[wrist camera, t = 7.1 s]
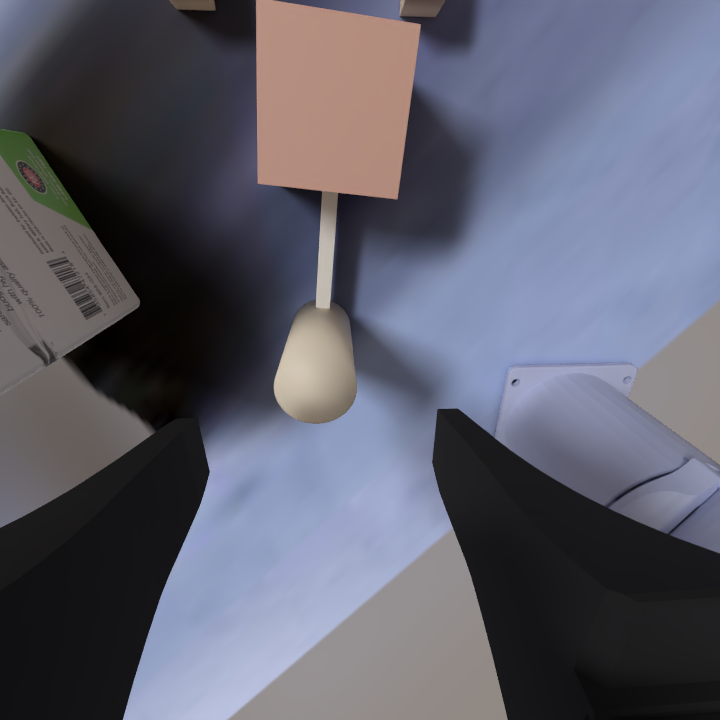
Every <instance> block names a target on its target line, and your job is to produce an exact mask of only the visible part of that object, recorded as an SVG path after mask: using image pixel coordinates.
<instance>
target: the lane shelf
mask: <svg viewBox="0 0 720 720" xmlns="http://www.w3.org/2000/svg"><path fill="white" fill-rule="evenodd" d="M169 1H170V2H171V3H172V4H173V5H174V7H175V8H176V9H179V10H212V11H216V9H215V1H214V0H169ZM445 1H446V0H400V16H412V17H436V16H437V14H438V13H439V11H440V9H441V7H442V6H443V4H444V2H445Z"/></svg>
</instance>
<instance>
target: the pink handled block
mask: <svg viewBox="0 0 720 720" xmlns="http://www.w3.org/2000/svg"><path fill="white" fill-rule="evenodd" d="M420 27H421V24H416V23H410V22H404V21H397V20H391V19H385V18H379V17H372V16H366V15H360V14H354V13H348V12H341V11H335V10H329V9H323V8H316V7H310V6H304V5H298V4H291V3H285V2H279V1H273V0H256V43H257V144H258V184H265V185H274V186H283V187H292V188H301V189H310V190H319V191H322V205H321V222H320V240H319V258H318V276H317V294H316V300H314V301H311V302H308V303H306V304H305V305H303V306H302V307H301V308H300V309H299V310H298V311H297V313H296V315H295V317H294V320H293V323H292V327H291V330H290V333H289V336H288V339H287V342H286V345H285V349H284V352H283V355H282V358H281V361H280V364H279V367H278V371H277V374H276V377H275V381H274V393H275V397H276V399H277V402H278V403H279V405H280V406H281V408H282V409H283V410H284V411H285V412H286V413H287V414H288V415H290V416H291V417H293V418H295V419H297V420H299V421H302V422H306V423H313V424H319V423H326V422H330V421H333V420H335V419H337V418H339V417H341V416H342V415H343V414H345V413H346V412H347V411H348V410H349V409H350V407H351V406H352V404H353V402H354V400H355V397H356V393H357V384H356V374H355V365H354V355H353V346H352V336H351V327H350V320H349V318H348V315H347V314H346V312H345V311H344V309H343V308H342V307H340V306H339V305H338V304H336V303H334V302H332V301H330V297H331V284H332V270H333V256H334V242H335V228H336V214H337V200H338V193H345V194H354V195H363V196H372V197H381V198H389V199H398V192H399V184H400V177H401V169H402V162H403V154H404V147H405V139H406V132H407V124H408V117H409V109H410V102H411V95H412V87H413V80H414V72H415V65H416V57H417V50H418V42H419V35H420Z"/></svg>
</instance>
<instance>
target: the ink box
mask: <svg viewBox="0 0 720 720" xmlns="http://www.w3.org/2000/svg"><path fill="white" fill-rule="evenodd" d="M139 305H140V300H139V298H138V297H137V296H136V294H135V293H134V291H133V290H132V288H131V286H130V285H129V283H128V282H127V280H126V279H125V277H124V276H123V274H122V273H121V271H120V270H119V269H118V267H117V266H116V264H115V263H114V261H113V260H112V258H111V257H110V255H109V254H108V252H107V251H106V249H105V248H104V247H103V245H102V244H101V242H100V241H99V239H98V238H97V236H96V234H95V233H94V231H93V230H92V228H91V227H90V225H89V224H88V222H87V221H86V219H85V218H84V216H83V215H82V213H81V212H80V211H79V209H78V208H77V206H76V204H75V203H74V201H73V200H72V199H71V197H70V196H69V194H68V193H67V191H66V190H65V188H64V187H63V185H62V184H61V182H60V181H59V179H58V178H57V176H56V175H55V173H54V171H53V170H52V169H51V167H50V166H49V164H48V163H47V161H46V160H45V158H44V157H43V155H42V154H41V152H40V151H39V149H38V148H37V146H36V145H35V144H34V142H33V140H32V139H31V138H30V137H29V136H28V135H27V134H24V133H21V132H15V131H9V130H4V129H0V395H2V394H3V393H5V392H6V391H8V390H10V389H11V388H13V387H15V386H16V385H18V384H19V383H21V382H23V381H24V380H26V379H27V378H29V377H30V376H32V375H33V374H35V373H37V372H38V371H40V370H42V369H43V368H45V367H47V366H48V365H50V364H51V363H53V362H55V361H56V360H58V359H59V358H61V357H62V356H64V355H65V354H67V353H69V352H70V351H72V350H73V349H75V348H77V347H78V346H80V345H81V344H83V343H84V342H86V341H87V340H89V339H91V338H92V337H94V336H95V335H97V334H98V333H100V332H101V331H103V330H104V329H106V328H107V327H109V326H111V325H112V324H114V323H115V322H117V321H119V320H120V319H122V318H123V317H125V316H126V315H127V314H129V313H131V312H132V311H134V310H135V309H137V308H138V307H139Z"/></svg>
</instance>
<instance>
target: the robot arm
mask: <svg viewBox="0 0 720 720" xmlns="http://www.w3.org/2000/svg"><path fill="white" fill-rule="evenodd" d="M637 370H638V369H637V367H636V366H635V365H633V364H631V363H600V364H556V365H516V366H512V367H511V368H509V370H508V371H507V374H506V379H505V385H504V390H503V395H502V400H501V405H500V411H499V416H498V421H497V426H496V431H495V436H494V437H493V436H491V435H490V434H489V433H488V432H486V431H485V430H484V429H483V428H481V427H480V426H479V425H478V424H476V423H475V422H474V421H473V420H471V419H470V418H469V417H468V416H467V415H465V414H464V413H463V412H461V411H460V410H459V409H438V411H437V421H436V431H435V441H434V451H433V461H432V463H433V467H434V471H435V476H436V480H437V484H438V488H439V492H440V495H441V497H442V500H443V503H444V505H445V508H446V511H447V513H448V516H449V518H450V521H451V524H452V526H453V529H454V531H455V534H456V537H457V539H458V542H459V544H460V547H461V550H462V552H463V555H464V557H465V560H466V563H467V566H468V569H469V572H470V575H471V577H472V581H473V585H474V588H475V592H476V595H477V599H478V603H479V606H480V610H481V613H482V617H483V621H484V625H485V629H486V633H487V636H488V640H489V644H490V647H491V652H492V655H493V659H494V663H495V668H496V672H497V676H498V680H499V684H500V689H501V693H502V697H503V701H504V705H505V709H506V714H507V718H508V720H720V465H719V464H718V463H716V462H715V461H714V460H712V459H711V458H709V457H708V456H707V455H705V454H704V453H703V452H701V451H700V450H698V449H697V448H696V447H694V446H693V445H692V444H690V443H689V442H687V441H686V440H685V439H683V438H682V437H680V436H679V435H678V434H676V433H675V432H674V431H672V430H671V429H670V428H668V427H667V426H665V425H664V424H662V423H661V422H660V421H658V420H657V419H656V418H654V417H653V416H652V415H650V414H649V413H647V412H646V411H645V410H643V409H642V408H641V407H639V406H638V405H636V404H635V403H634V402H632V401H631V400H630V399H628V396H629V394H630V391H631V388H632V385H633V382H634V380H635V377H636V374H637ZM625 377H627V378H626V379H625V380H624V378H625ZM514 379H517V381H516V382H515V383H513V384H512V381H513V380H514ZM209 473H210V471H209V467H208V462H207V458H206V454H205V449H204V445H203V440H202V436H201V432H200V427H199V423H198V418H183V419H175V420H174V421H172V422H170V423H169V424H167V425H166V426H164V427H163V428H161V429H160V430H158V431H157V432H156V433H154V434H153V435H151V436H150V437H149V438H147V439H146V440H144V441H143V442H141V443H140V444H139V445H137V446H136V447H134V448H133V449H131V450H130V451H129V452H127V453H126V454H124V455H123V456H121V457H120V458H119V459H117V460H116V461H114V462H113V463H111V464H110V465H108V466H107V467H105V468H104V469H102V470H101V471H99V472H98V473H96V474H95V475H93V476H91V477H90V478H88V479H87V480H85V481H84V482H82V483H81V484H79V485H78V486H76V487H74V488H73V489H71V490H69V491H68V492H66V493H64V494H63V495H61V496H59V497H57V498H56V499H54V500H52V501H51V502H49V503H47V504H45V505H43V506H42V507H40V508H38V509H36V510H34V511H33V512H31V513H29V514H27V515H25V516H23V517H22V518H19V519H17V520H15V521H13V522H11V523H9V524H7V525H5V526H3V527H1V528H0V720H123V717H124V713H125V710H126V706H127V703H128V699H129V695H130V692H131V688H132V685H133V681H134V678H135V675H136V672H137V668H138V665H139V662H140V659H141V655H142V652H143V649H144V646H145V642H146V639H147V636H148V633H149V630H150V627H151V624H152V621H153V618H154V615H155V612H156V609H157V606H158V603H159V600H160V597H161V594H162V592H163V589H164V587H165V584H166V582H167V579H168V577H169V574H170V572H171V570H172V568H173V565H174V563H175V561H176V559H177V556H178V554H179V552H180V550H181V547H182V545H183V543H184V541H185V538H186V536H187V534H188V532H189V529H190V527H191V525H192V523H193V520H194V518H195V516H196V513H197V511H198V509H199V506H200V504H201V501H202V497H203V494H204V491H205V487H206V484H207V480H208V476H209Z"/></svg>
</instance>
